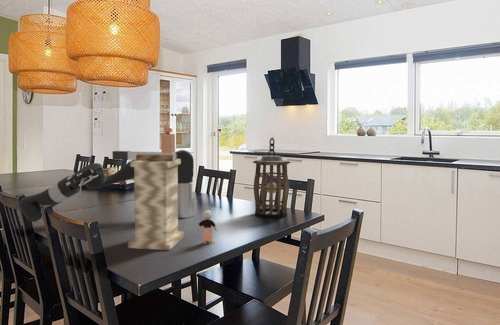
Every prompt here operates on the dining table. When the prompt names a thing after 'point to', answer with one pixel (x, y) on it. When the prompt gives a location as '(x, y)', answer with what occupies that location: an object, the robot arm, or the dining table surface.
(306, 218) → the dining table surface
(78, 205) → the dining table surface
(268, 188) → the lantern
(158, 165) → the display stand
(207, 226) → the grandmother figurine
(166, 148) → the rod
